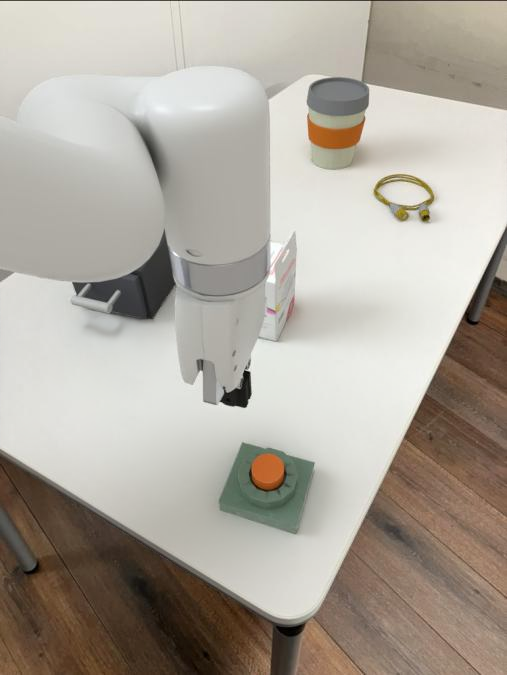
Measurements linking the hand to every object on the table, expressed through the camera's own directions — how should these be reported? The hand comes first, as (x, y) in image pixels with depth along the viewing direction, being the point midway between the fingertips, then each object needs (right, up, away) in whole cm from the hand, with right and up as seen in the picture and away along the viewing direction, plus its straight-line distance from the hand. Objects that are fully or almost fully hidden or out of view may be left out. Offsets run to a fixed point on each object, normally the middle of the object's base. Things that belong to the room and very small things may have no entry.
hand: (234, 398), depth 51 cm
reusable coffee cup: (+19, +45, +61) cm, 79 cm away
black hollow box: (-17, +15, +34) cm, 41 cm away
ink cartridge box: (+5, +9, +27) cm, 29 cm away
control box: (+4, -12, +8) cm, 15 cm away
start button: (+4, -9, +6) cm, 11 cm away
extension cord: (+32, +33, +50) cm, 68 cm away
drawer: (-19, +13, +31) cm, 39 cm away
